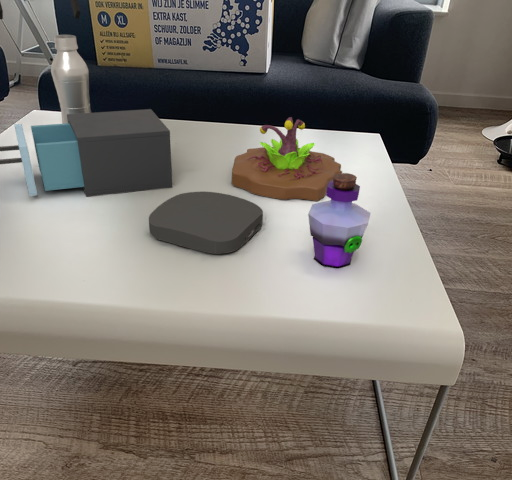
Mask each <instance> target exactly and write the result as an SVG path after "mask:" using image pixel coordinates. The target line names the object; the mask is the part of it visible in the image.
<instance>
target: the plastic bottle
mask: <svg viewBox="0 0 512 480" xmlns="http://www.w3.org/2000/svg"><path fill="white" fill-rule="evenodd" d="M53 40H54V49H55V50H56V54H55V56H54V57H53V59H52V63H51V66H50V73H51V77H52V80H53V83H54V84H53V85H54V87H55V90H56V95H57V97H58V102H59V107H60V112H61V124H65V123H68V120H67V114H80V113H92V110H91V99H90V72H89V71H90V70H89V68H88V65H87V63H86V62H85V60H84V58H82V56H81V55H80V54H79V52H78V51H77V50H78V49H79V45H78V43H77V36H76V35H73V34H56V35H54V36H53Z"/></svg>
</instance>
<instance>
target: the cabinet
mask: <svg viewBox="0 0 512 480" xmlns="http://www.w3.org/2000/svg"><path fill="white" fill-rule="evenodd" d="M67 120H68V123H69V124H70V126H71V128H72V130H73V132H74V135H75V137H76V139H77V141H78V148H79V155H80V161H81V168H82V175H83V181H84V187H82V190H83V192H84V194H85V197H96V196H105V195H106V196H107V195H115V194H123V193H132V192H133V193H134V192H140V191H151V190H159V189H170V188H173V187H174V185H173V169H172V168H173V167H172V166H173V165H172V147H171V145H172V144H171V131H170V129H169V128H168V127H167V126H166V125H165V123H164V122H163V121H162V120H161V119H160V118H159V117H158V116H157V114H156V113H155V112H154V111H153V110H152V109H151V108H147V109H131V110H130V109H129V110H115V111H114V110H113V111H98V112H91V113H80V114H67Z"/></svg>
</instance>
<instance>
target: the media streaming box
mask: <svg viewBox="0 0 512 480" xmlns="http://www.w3.org/2000/svg"><path fill="white" fill-rule="evenodd" d="M263 217H264V211H263V209H262V208H261V206H259V205H258V204H256V203H254V202H252V201H250V200H247V199H245V198H242V197H238V196H235V195H232V194H226V193H222V192H215V191H190V192H189V191H188V192H183V193H179V194H176V195H173V196H172V197H170V198H168V199H166V200H165V201H164V202H162V203H161V204H159V205H158V206H157V207H156V208H155V209H154V210H153V211H152V212H151V213H150V214H149V215H148V228H149V229H148V230H149V234H150V235H151V236H152V237H153V238H154V239H157V240H159V241H162V242H166V243H169V244H173V245H176V246H180V247H183V248H187V249H191V250H195V251H199V252H204V253H208V254H217V255H218V254H219V255H220V254H221V255H222V254H229V253H233V252H235V251H237V250H238V249H240V248H241V247H242V246H244V244H246V243H247V242H248V241H249V240H250V239H251V238H252V237H253V236H254V235H255V234H256V233H257V232H258V231H259V230H260V229H261V228H262V226H263V221H264V220H263Z"/></svg>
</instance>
